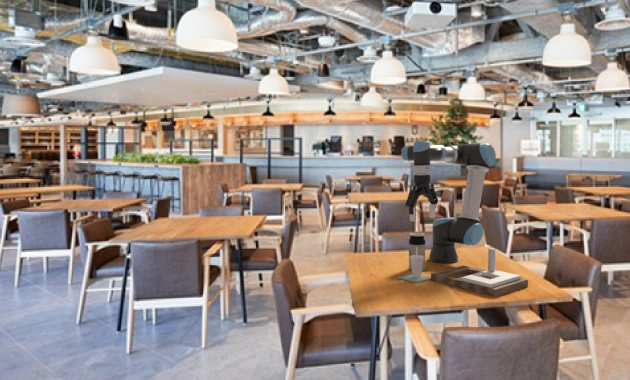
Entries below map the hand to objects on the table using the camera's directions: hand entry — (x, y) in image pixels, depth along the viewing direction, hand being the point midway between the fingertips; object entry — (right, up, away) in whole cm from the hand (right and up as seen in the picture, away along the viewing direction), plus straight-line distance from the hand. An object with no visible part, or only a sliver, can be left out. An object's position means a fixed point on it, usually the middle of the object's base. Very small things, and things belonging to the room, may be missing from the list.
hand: (422, 219), depth 218 cm
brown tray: (+22, -28, -10) cm, 37 cm away
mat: (-4, -27, -2) cm, 28 cm away
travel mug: (+1, -26, +16) cm, 31 cm away
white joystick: (+26, -25, -17) cm, 40 cm away
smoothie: (-3, -27, -1) cm, 27 cm away
